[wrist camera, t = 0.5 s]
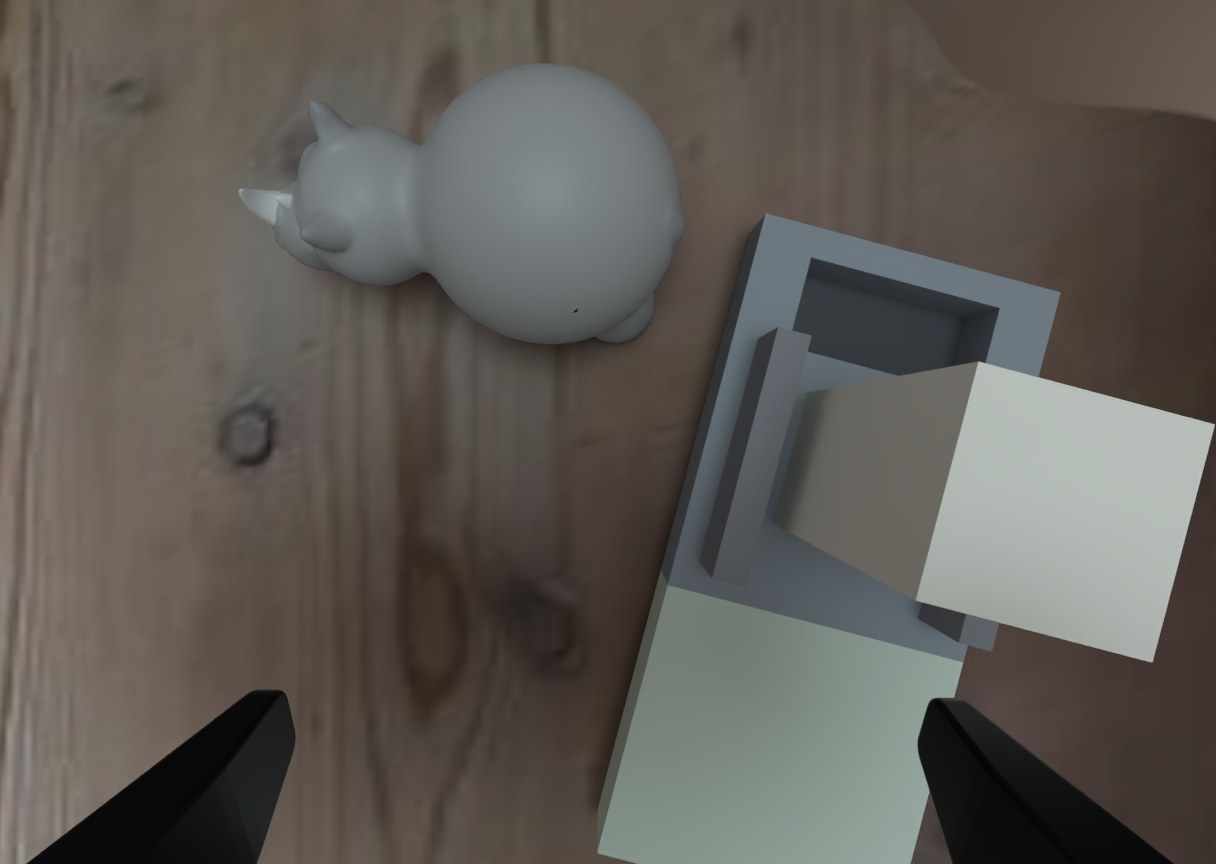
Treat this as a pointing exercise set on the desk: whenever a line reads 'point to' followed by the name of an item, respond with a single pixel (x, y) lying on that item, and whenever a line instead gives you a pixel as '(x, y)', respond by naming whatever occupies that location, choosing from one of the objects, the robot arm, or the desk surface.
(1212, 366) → the desk surface
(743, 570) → the channel
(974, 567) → the block
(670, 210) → the grey rounded figurine
